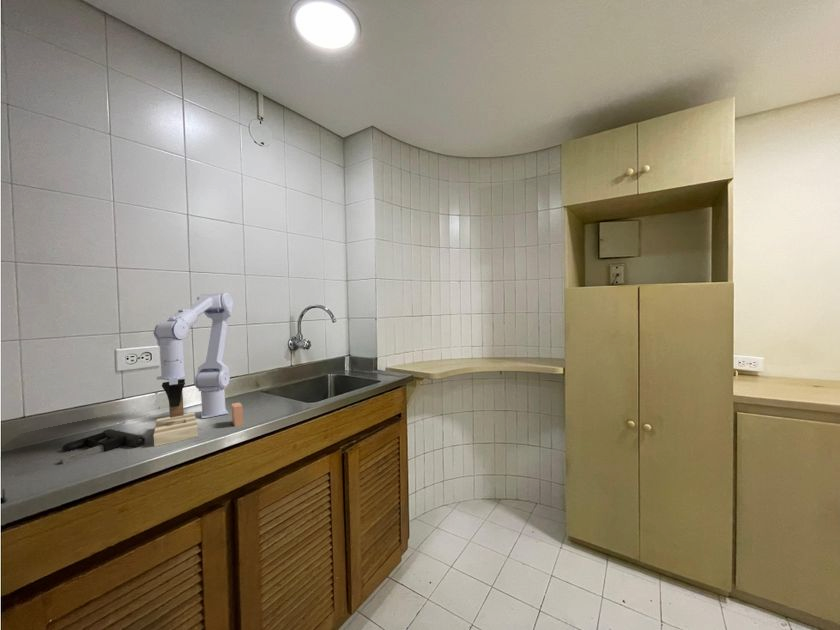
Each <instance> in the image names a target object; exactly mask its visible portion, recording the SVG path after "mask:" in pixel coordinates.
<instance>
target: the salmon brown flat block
mask: <svg viewBox="0 0 840 630" xmlns="http://www.w3.org/2000/svg"><path fill="white" fill-rule="evenodd" d="M243 407H244V406H243V405H242V403H241V402H234V403H233V402H232V403H231V422H232V424H233V426H234V427H238V426H243V425H244V411H243V410H244V409H243Z"/></svg>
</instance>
